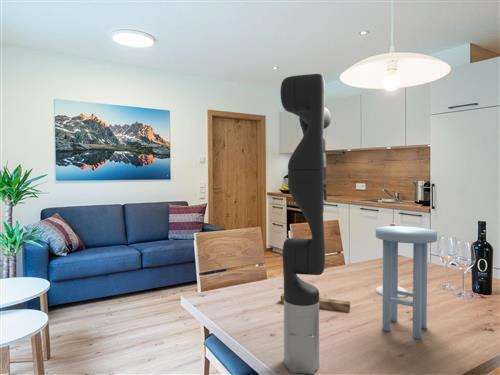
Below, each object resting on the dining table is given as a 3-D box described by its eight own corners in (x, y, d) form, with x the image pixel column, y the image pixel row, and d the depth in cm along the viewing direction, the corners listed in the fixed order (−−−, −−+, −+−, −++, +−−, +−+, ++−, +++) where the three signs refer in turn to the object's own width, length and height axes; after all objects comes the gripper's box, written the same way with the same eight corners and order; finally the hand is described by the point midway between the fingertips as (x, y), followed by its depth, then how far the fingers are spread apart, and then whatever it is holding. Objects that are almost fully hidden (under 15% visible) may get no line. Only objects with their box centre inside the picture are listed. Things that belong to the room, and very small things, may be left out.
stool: (440, 325, 113) (441, 229, 112) (430, 347, 99) (431, 237, 98) (383, 312, 124) (384, 224, 123) (367, 330, 109) (368, 231, 108)
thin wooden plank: (350, 310, 127) (350, 301, 127) (349, 313, 124) (349, 304, 124) (282, 301, 137) (282, 293, 137) (280, 304, 134) (280, 295, 134)
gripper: (313, 168, 125) (313, 212, 125) (295, 165, 114) (295, 214, 113) (333, 167, 121) (333, 213, 121) (316, 164, 109) (316, 215, 109)
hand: (315, 213), depth 117 cm, fingers open, 8 cm apart
